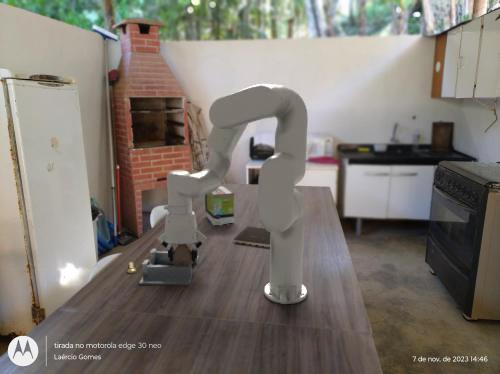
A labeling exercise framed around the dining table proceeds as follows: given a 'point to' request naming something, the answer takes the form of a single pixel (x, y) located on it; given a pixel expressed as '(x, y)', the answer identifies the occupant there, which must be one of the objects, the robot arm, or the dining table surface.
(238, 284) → the dining table surface
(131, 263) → the brass key
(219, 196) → the tea box
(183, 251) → the vase
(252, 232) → the hardcover book
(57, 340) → the dining table surface
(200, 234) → the robot arm
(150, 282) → the bracket
